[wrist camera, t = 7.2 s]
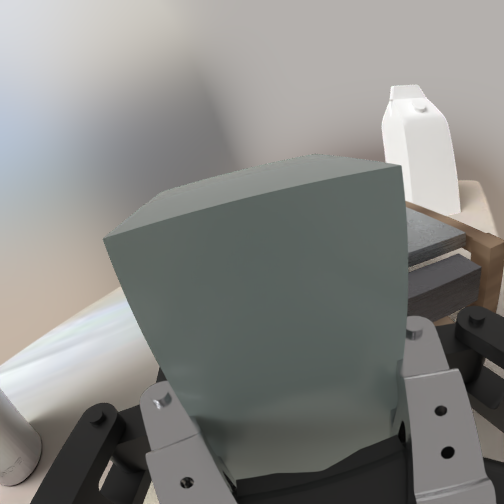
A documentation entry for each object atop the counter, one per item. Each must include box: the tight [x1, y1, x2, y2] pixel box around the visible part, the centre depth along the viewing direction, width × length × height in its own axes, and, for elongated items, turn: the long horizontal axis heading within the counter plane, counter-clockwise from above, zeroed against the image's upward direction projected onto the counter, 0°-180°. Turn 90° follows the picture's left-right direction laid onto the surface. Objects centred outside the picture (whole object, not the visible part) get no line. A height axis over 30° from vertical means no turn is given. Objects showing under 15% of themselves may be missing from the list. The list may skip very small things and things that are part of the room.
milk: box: [382, 85, 461, 216], centre depth 50 cm, size 12×12×26 cm
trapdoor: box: [406, 207, 482, 323], centre depth 22 cm, size 17×13×3 cm
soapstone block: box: [103, 154, 408, 481], centre depth 9 cm, size 5×5×12 cm
